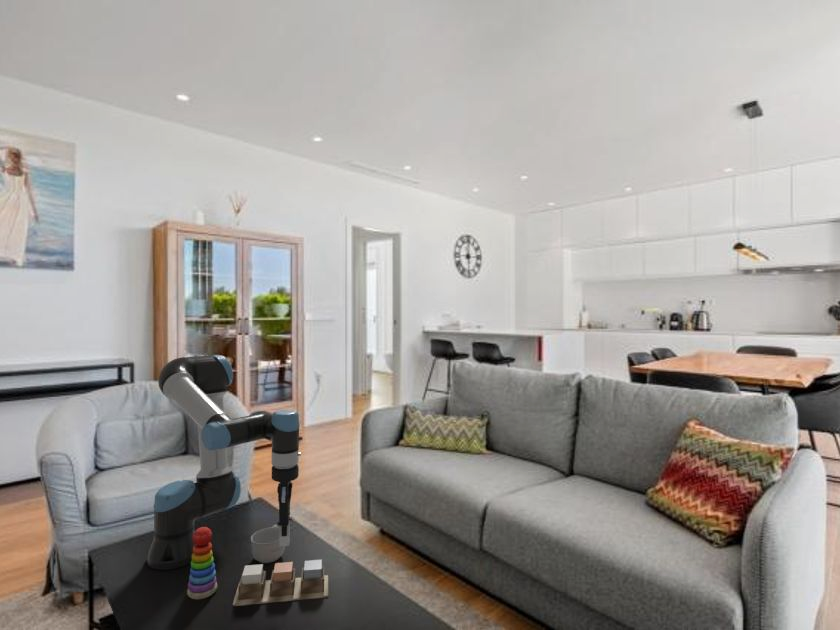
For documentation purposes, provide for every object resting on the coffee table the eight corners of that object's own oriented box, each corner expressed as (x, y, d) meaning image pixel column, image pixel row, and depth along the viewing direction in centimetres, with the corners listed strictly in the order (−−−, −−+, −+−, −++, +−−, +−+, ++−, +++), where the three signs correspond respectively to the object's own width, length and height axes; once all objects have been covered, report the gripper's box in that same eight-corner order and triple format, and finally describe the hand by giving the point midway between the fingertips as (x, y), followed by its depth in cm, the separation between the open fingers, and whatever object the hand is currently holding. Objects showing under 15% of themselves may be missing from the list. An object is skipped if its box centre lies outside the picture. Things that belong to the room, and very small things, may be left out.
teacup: (274, 569, 149) (275, 544, 148) (243, 564, 151) (244, 540, 150) (295, 547, 162) (295, 524, 162) (266, 542, 164) (266, 520, 164)
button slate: (303, 583, 137) (304, 570, 137) (304, 573, 142) (304, 560, 142) (321, 582, 138) (321, 568, 138) (321, 572, 143) (321, 559, 143)
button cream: (241, 589, 134) (242, 575, 133) (244, 578, 138) (245, 565, 138) (260, 587, 134) (260, 574, 134) (262, 577, 139) (262, 564, 139)
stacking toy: (223, 586, 140) (224, 523, 139) (205, 603, 132) (206, 537, 131) (199, 581, 141) (200, 520, 140) (180, 598, 133) (181, 533, 133)
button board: (232, 606, 131) (232, 590, 131) (239, 584, 141) (239, 569, 140) (328, 597, 136) (328, 581, 136) (328, 576, 146) (328, 562, 146)
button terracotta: (273, 586, 135) (273, 573, 135) (275, 576, 140) (275, 563, 140) (291, 585, 136) (291, 571, 136) (292, 574, 141) (292, 561, 141)
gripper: (297, 472, 131) (296, 555, 132) (299, 456, 144) (298, 532, 145) (269, 473, 130) (268, 558, 130) (274, 457, 142) (273, 534, 143)
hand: (284, 544), depth 137 cm, fingers closed
